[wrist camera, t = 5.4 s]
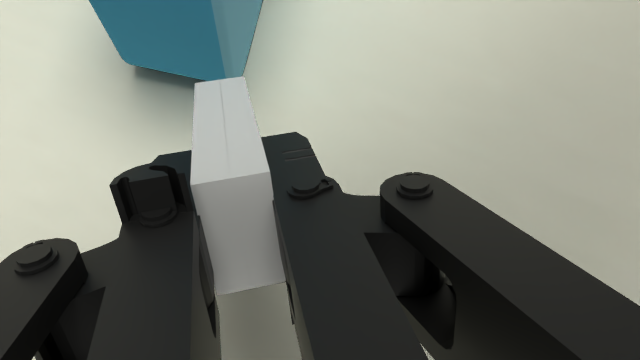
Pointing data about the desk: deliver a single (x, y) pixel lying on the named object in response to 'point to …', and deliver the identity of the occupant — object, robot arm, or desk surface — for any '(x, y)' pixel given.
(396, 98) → the desk surface
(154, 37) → the data package
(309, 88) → the desk surface
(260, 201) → the robot arm
